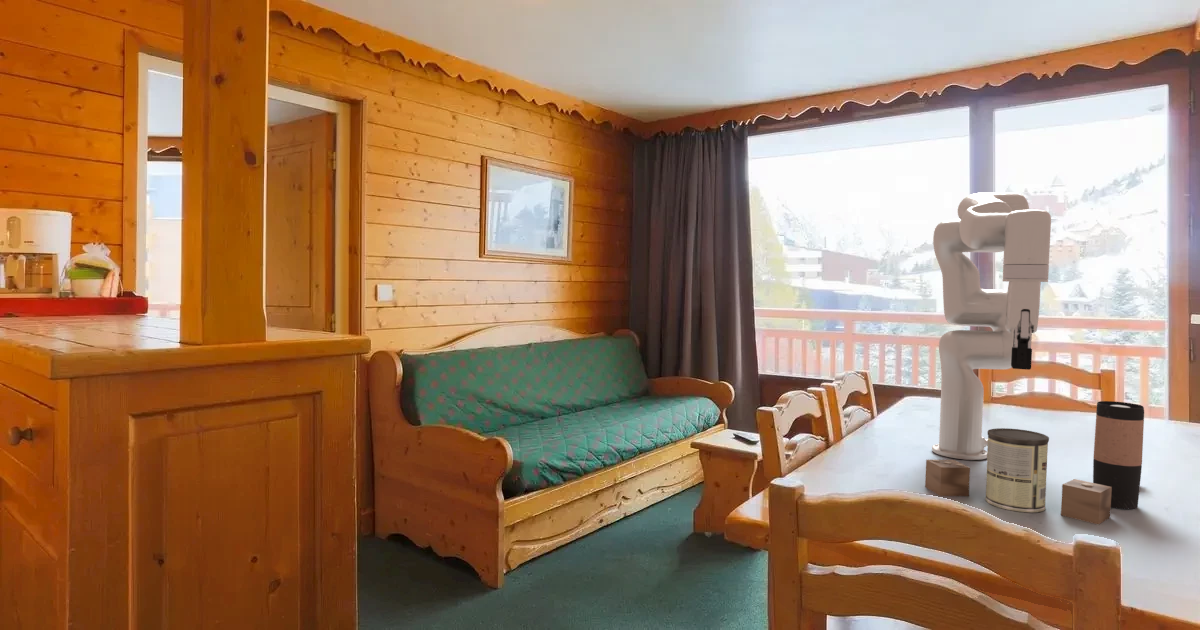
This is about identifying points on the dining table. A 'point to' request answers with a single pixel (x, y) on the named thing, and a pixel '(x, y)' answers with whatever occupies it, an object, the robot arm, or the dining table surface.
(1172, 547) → the dining table surface
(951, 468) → the three-pip block
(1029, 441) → the coffee can
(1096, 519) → the one-pip block
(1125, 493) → the travel mug
